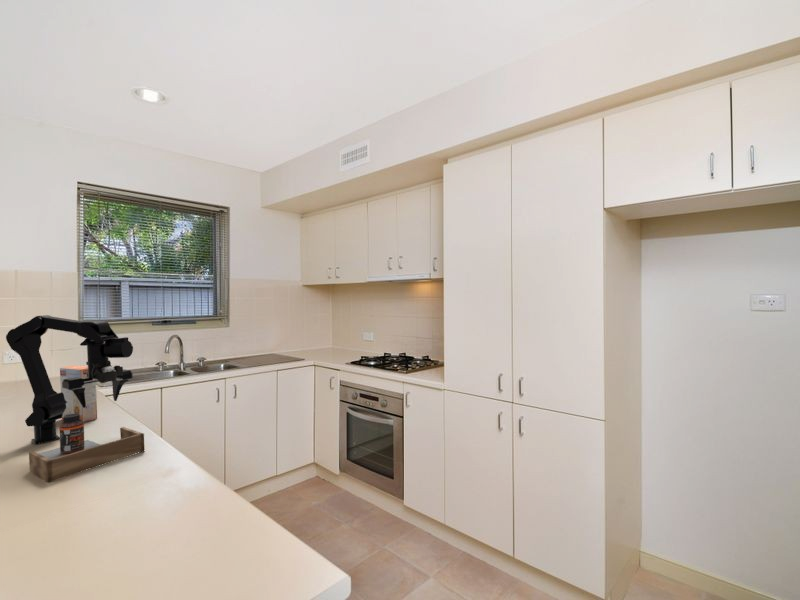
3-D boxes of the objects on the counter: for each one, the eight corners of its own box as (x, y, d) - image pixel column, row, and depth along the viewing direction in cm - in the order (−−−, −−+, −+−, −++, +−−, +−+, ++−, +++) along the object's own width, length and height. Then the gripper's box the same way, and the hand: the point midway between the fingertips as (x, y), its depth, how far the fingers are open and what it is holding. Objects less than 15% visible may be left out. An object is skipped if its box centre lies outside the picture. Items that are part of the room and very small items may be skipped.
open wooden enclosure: (29, 471, 115) (28, 452, 115) (124, 443, 135) (123, 427, 135) (47, 482, 108) (46, 461, 108) (144, 451, 128) (143, 433, 128)
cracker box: (98, 418, 164) (96, 366, 163) (81, 423, 158) (79, 369, 158) (78, 415, 170) (75, 364, 169) (61, 419, 164) (58, 367, 164)
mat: (34, 455, 127) (34, 454, 127) (87, 440, 139) (87, 439, 139) (52, 465, 120) (52, 463, 120) (107, 448, 131) (107, 447, 131)
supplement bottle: (71, 455, 125) (69, 418, 125) (55, 454, 126) (53, 417, 126) (89, 448, 131) (88, 412, 131) (74, 447, 132) (72, 412, 132)
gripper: (75, 364, 127) (77, 414, 128) (139, 355, 143) (141, 400, 144) (60, 362, 133) (62, 410, 134) (123, 353, 149) (125, 396, 150)
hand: (100, 404), depth 140 cm, fingers open, 9 cm apart
